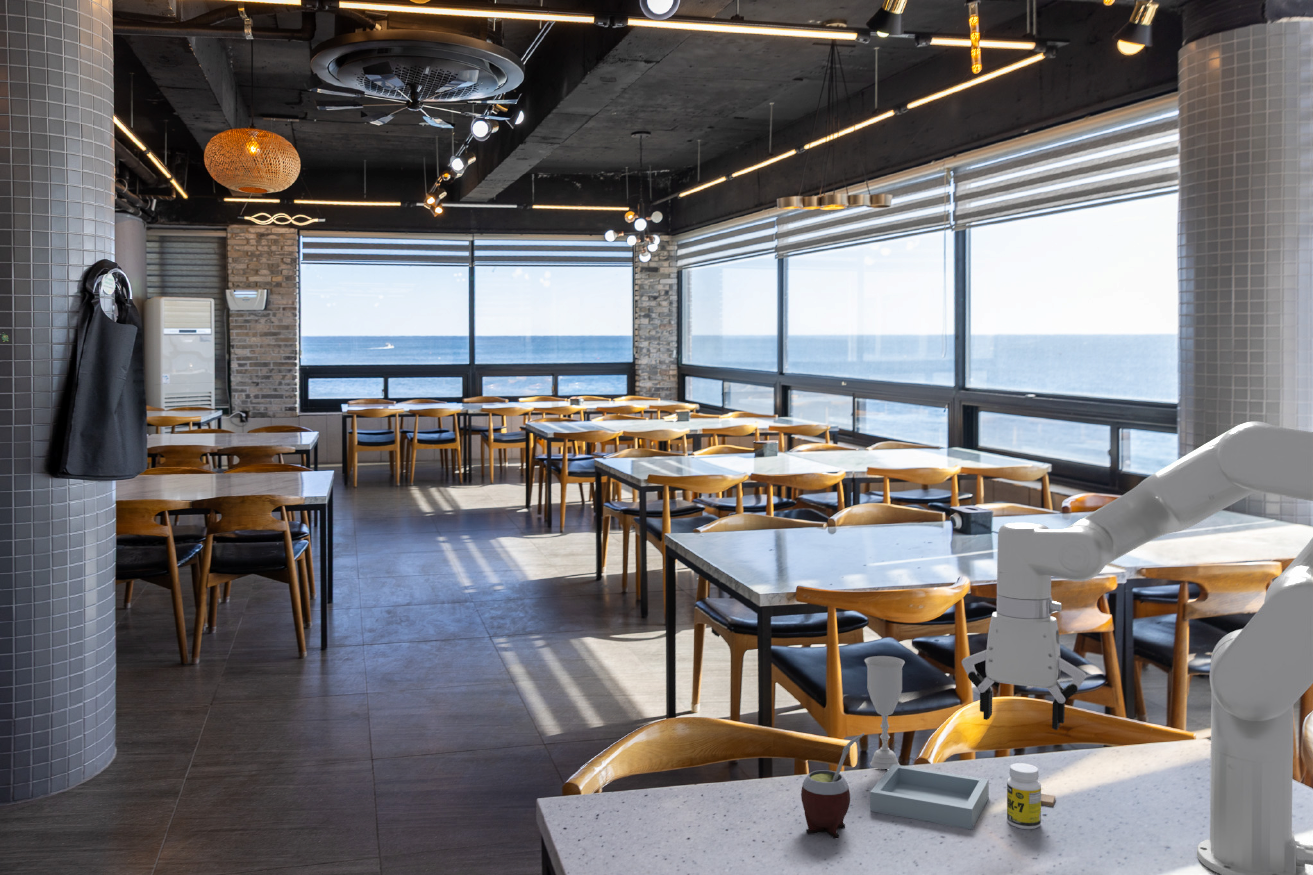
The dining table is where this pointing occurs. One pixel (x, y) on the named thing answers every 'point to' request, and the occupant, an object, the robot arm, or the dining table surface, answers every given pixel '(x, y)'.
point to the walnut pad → (1047, 799)
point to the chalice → (884, 700)
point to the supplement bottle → (1024, 796)
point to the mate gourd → (826, 798)
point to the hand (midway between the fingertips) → (1021, 722)
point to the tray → (930, 796)
